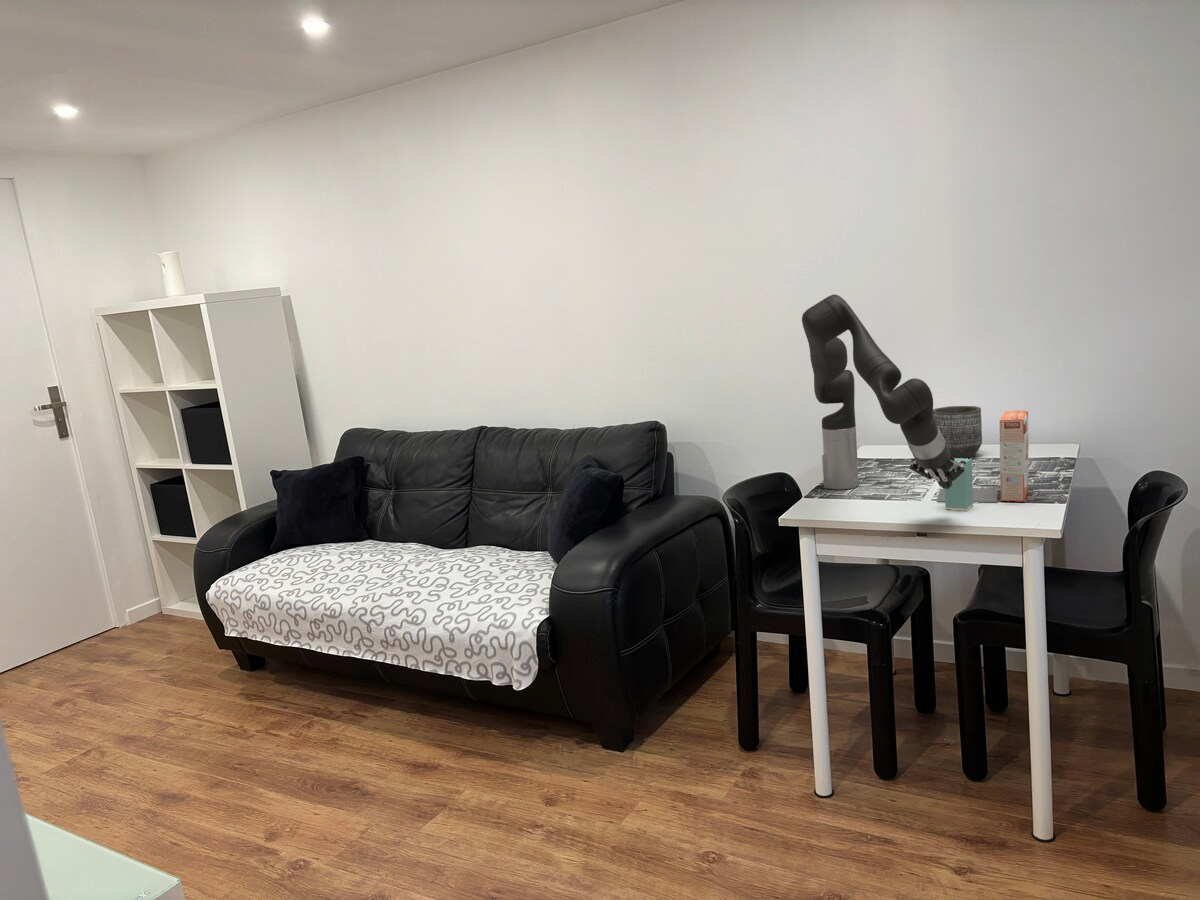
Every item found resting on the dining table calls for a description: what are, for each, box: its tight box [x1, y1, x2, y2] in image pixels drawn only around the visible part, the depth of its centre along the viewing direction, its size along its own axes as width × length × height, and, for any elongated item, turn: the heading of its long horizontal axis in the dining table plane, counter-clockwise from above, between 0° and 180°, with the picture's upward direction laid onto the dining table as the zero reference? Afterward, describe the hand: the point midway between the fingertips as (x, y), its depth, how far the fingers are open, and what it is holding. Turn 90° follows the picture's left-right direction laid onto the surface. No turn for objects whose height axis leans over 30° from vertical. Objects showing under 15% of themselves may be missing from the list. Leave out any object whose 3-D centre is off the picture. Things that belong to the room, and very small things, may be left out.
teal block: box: [944, 458, 974, 512], centre depth 214 cm, size 5×5×12 cm
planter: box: [933, 405, 983, 459], centre depth 270 cm, size 14×14×15 cm
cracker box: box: [999, 410, 1029, 503], centre depth 219 cm, size 14×6×21 cm, turn 151°
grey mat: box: [936, 488, 999, 504], centre depth 224 cm, size 14×13×1 cm
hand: (947, 485), depth 207 cm, fingers closed
